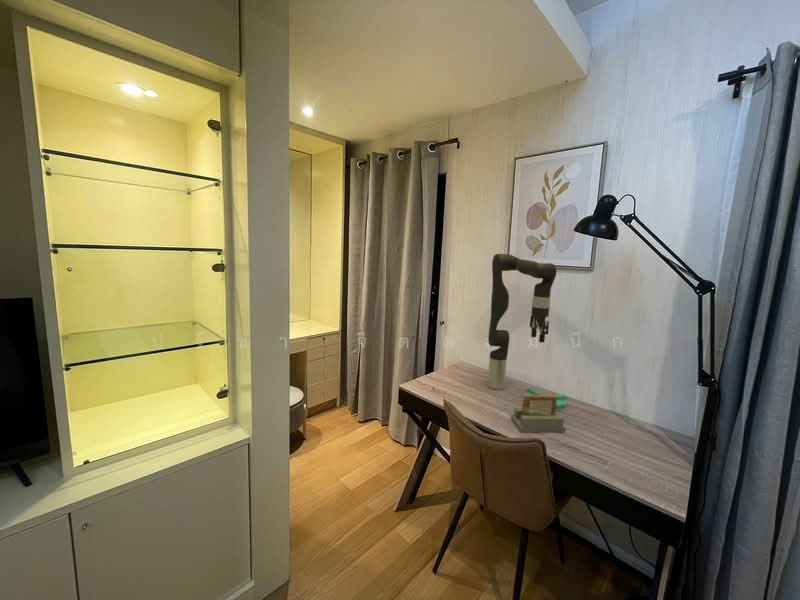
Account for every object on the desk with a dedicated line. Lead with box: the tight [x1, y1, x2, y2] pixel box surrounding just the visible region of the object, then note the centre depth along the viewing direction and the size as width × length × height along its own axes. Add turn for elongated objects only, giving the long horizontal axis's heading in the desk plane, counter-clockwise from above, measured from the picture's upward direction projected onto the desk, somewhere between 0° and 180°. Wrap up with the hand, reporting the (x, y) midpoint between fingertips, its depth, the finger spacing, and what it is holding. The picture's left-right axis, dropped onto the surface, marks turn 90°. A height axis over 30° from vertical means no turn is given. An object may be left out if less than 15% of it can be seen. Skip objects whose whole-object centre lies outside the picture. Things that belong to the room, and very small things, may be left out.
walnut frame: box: [521, 394, 557, 415], centre depth 151 cm, size 3×14×12 cm, turn 93°
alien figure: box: [524, 386, 568, 411], centre depth 177 cm, size 20×2×20 cm
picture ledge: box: [510, 407, 567, 433], centre depth 152 cm, size 11×20×6 cm, turn 93°
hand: (537, 339), depth 161 cm, fingers open, 8 cm apart
